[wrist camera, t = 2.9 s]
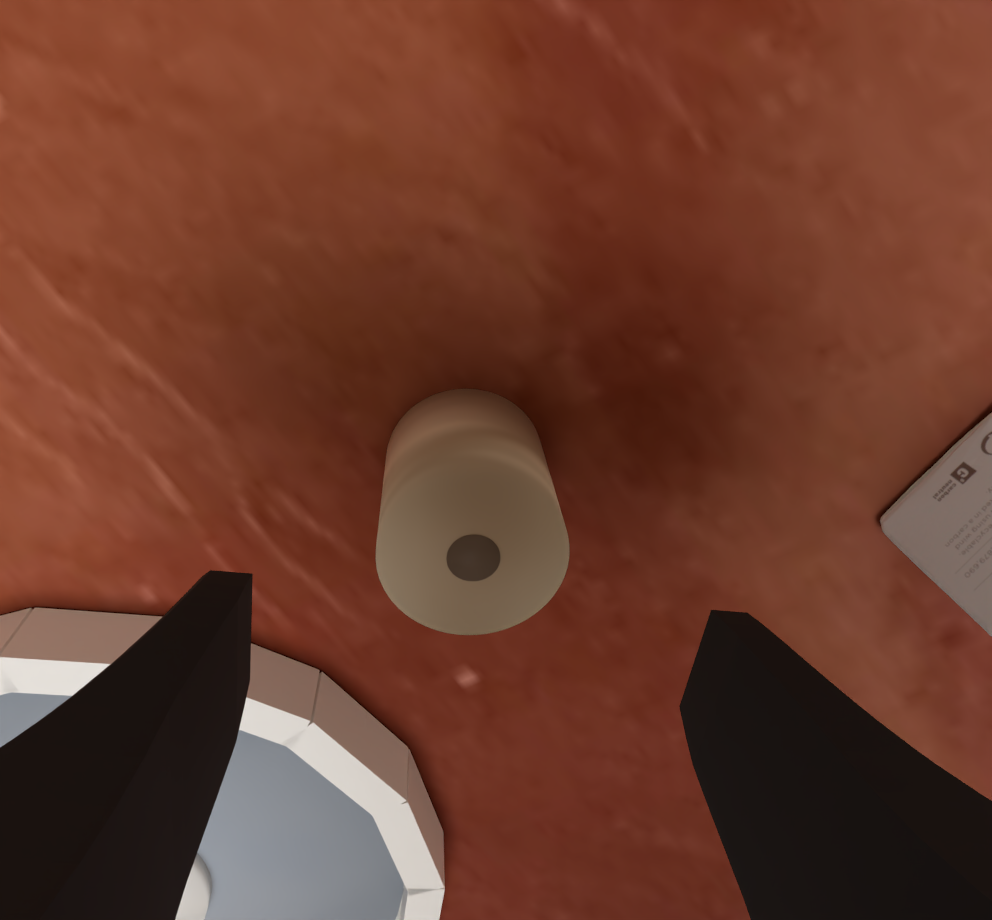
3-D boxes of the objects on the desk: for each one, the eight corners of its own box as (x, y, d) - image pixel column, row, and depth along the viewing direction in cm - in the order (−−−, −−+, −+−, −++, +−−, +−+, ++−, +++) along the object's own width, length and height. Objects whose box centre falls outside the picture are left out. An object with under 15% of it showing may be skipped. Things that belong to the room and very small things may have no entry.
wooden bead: (555, 398, 18) (587, 482, 14) (528, 534, 19) (551, 643, 16) (393, 379, 17) (384, 462, 14) (379, 521, 19) (368, 629, 15)
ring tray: (477, 638, 21) (482, 687, 19) (406, 1043, 28) (405, 1102, 27) (-304, 583, 18) (-375, 633, 17) (-150, 1041, 26) (-188, 1106, 24)
